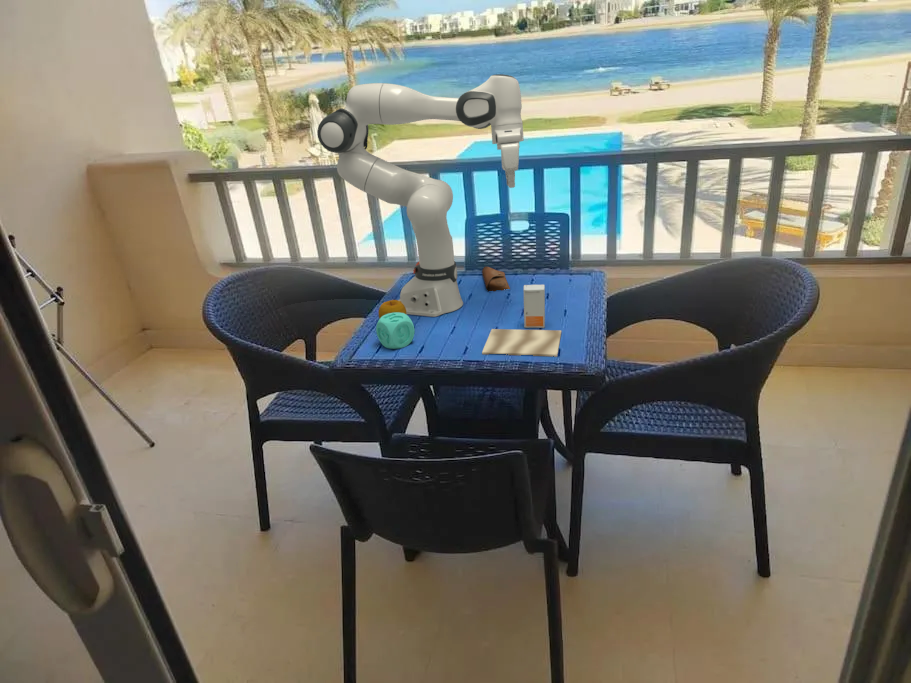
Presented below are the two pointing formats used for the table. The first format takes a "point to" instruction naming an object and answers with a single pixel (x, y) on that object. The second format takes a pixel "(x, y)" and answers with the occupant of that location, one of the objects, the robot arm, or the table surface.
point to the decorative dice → (395, 330)
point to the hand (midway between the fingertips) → (510, 186)
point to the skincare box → (534, 306)
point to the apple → (391, 308)
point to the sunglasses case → (494, 279)
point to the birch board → (523, 342)
